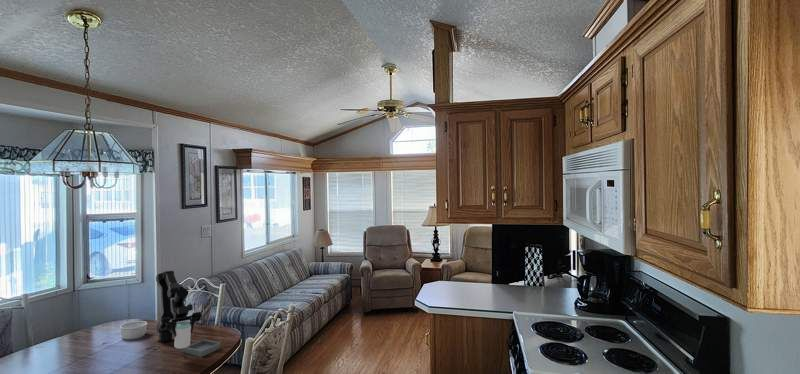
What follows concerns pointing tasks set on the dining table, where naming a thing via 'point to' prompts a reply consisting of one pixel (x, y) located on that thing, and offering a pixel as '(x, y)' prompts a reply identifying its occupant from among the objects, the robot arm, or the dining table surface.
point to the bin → (202, 348)
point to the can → (182, 335)
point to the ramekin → (133, 329)
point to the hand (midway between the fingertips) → (183, 334)
